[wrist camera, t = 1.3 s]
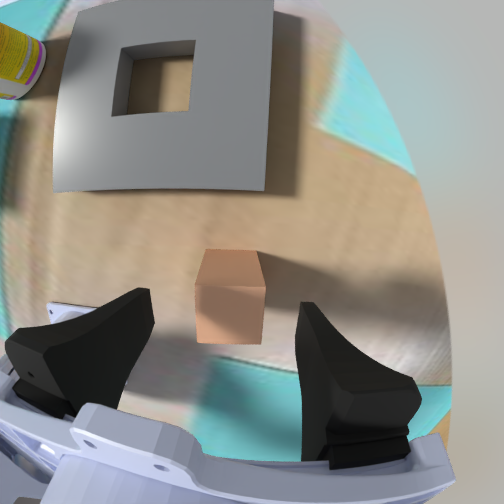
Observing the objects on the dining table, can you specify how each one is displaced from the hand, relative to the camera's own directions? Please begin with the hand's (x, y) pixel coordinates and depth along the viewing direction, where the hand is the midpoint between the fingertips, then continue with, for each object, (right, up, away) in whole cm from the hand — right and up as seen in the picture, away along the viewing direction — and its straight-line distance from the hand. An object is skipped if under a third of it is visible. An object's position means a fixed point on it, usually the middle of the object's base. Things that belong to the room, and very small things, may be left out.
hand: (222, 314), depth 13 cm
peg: (0, +1, +10) cm, 10 cm away
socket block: (-6, +16, +5) cm, 17 cm away
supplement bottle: (-21, +21, +3) cm, 30 cm away
